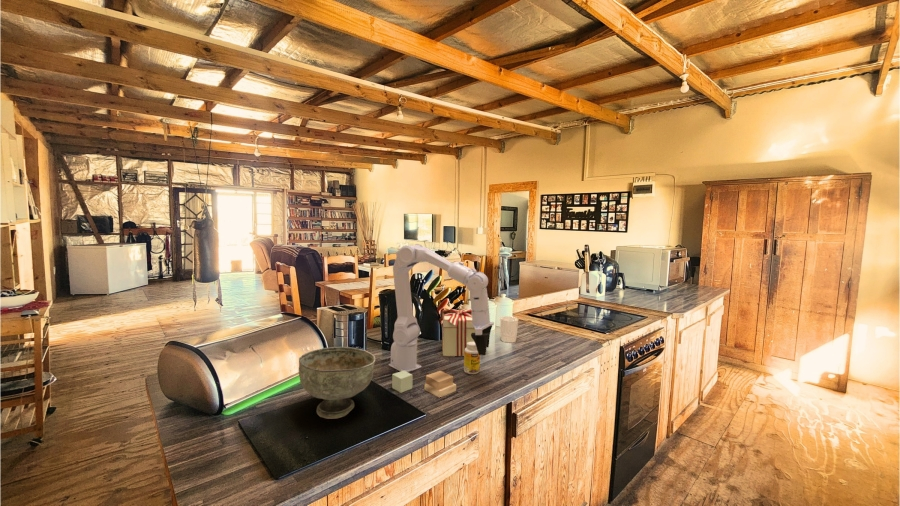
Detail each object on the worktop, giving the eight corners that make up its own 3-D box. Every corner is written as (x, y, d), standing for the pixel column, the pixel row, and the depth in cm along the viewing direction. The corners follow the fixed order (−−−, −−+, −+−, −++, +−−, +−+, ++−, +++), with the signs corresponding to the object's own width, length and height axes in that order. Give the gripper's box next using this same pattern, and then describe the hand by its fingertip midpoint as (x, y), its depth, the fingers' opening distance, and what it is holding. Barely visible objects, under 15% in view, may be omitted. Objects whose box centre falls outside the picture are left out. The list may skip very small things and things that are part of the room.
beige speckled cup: (520, 339, 167) (521, 318, 166) (513, 344, 160) (514, 322, 159) (503, 336, 171) (504, 315, 170) (496, 341, 164) (497, 319, 163)
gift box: (443, 360, 140) (444, 316, 138) (439, 344, 158) (439, 304, 156) (487, 359, 142) (489, 315, 140) (478, 343, 160) (479, 304, 159)
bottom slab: (424, 391, 116) (424, 383, 115) (440, 384, 120) (440, 377, 120) (439, 399, 111) (439, 391, 110) (456, 392, 115) (456, 384, 115)
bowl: (386, 410, 102) (387, 357, 101) (318, 437, 89) (318, 377, 88) (351, 386, 117) (351, 339, 115) (288, 406, 103) (287, 354, 102)
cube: (392, 388, 116) (392, 374, 116) (403, 383, 119) (403, 370, 119) (400, 393, 113) (401, 378, 113) (412, 388, 116) (412, 374, 116)
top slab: (425, 383, 115) (425, 375, 115) (440, 378, 120) (440, 370, 119) (438, 390, 111) (438, 382, 111) (452, 384, 115) (453, 376, 115)
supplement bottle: (470, 376, 126) (470, 347, 126) (460, 370, 131) (461, 342, 130) (482, 372, 130) (483, 344, 129) (473, 367, 134) (474, 339, 133)
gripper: (489, 314, 113) (493, 358, 113) (494, 304, 127) (498, 343, 127) (467, 315, 114) (471, 358, 115) (474, 305, 128) (477, 344, 129)
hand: (483, 350), depth 121 cm, fingers open, 7 cm apart
